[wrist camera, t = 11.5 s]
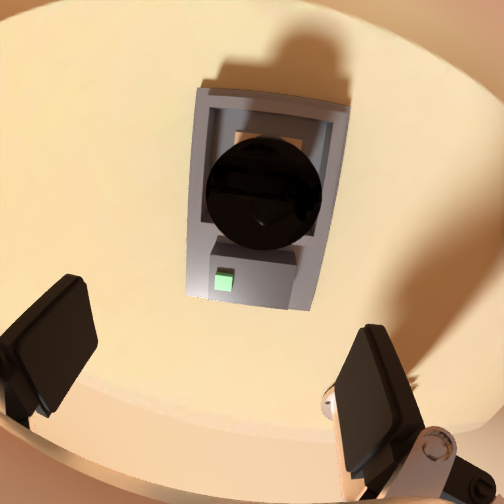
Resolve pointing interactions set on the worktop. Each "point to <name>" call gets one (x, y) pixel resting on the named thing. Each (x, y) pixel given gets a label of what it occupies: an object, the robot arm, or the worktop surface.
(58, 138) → the worktop surface
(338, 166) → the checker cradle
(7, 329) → the robot arm
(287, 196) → the supplement container
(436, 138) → the worktop surface
